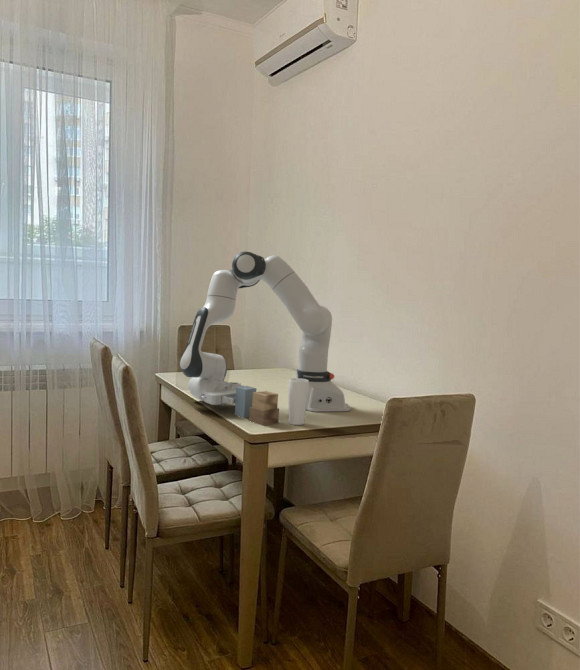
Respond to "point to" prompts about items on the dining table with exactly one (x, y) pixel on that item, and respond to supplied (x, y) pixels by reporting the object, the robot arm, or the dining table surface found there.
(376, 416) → the dining table surface
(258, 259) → the robot arm
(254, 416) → the tower base
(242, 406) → the pillar
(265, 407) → the tower top
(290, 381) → the drinking glass
